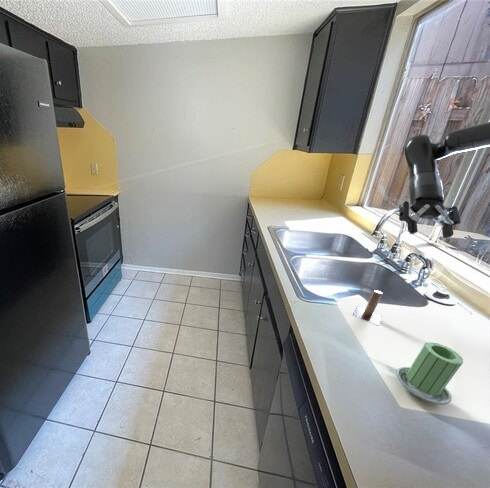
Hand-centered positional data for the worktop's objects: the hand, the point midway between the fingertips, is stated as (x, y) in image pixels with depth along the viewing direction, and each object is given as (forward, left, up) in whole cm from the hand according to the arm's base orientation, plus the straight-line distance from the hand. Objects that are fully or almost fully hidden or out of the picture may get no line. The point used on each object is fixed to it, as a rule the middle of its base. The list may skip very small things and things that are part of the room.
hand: (430, 235), depth 78 cm
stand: (+6, +12, -29) cm, 32 cm away
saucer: (-8, +34, -29) cm, 46 cm away
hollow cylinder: (-8, +34, -26) cm, 44 cm away
